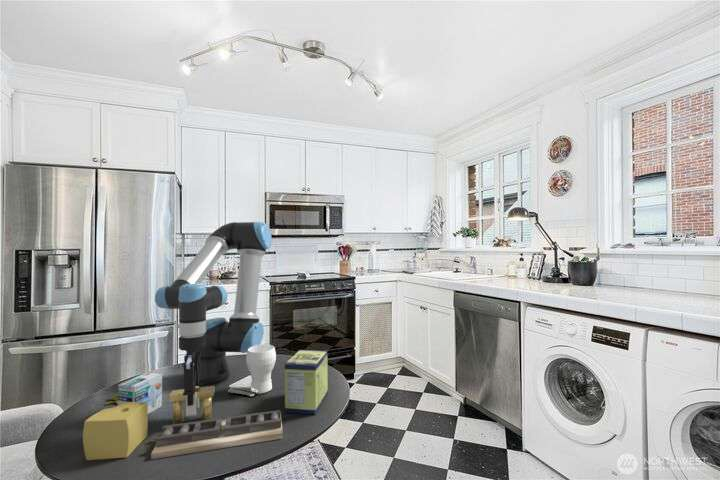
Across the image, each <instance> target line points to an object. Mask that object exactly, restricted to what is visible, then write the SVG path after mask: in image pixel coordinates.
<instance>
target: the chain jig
mask: <svg viewBox="0 0 720 480" xmlns="http://www.w3.org/2000/svg"><path fill="white" fill-rule="evenodd" d="M282 421H283V420H282V413H281V409H277V410H269V411H262V412H255V413H249V414H240V415H235V416H226V419H223V417H219V418H211V419H209V420H197V421H191V422H189V421H188V422H184V423H183V422H182V423H180V424H168V425H162V428H161V429H162V430H161V435H159V436H157V437H156V439H155V446H154V448H153V450H152V451H151V453H150V454H151V455H150V459H151V460H157V459H164V458H169V457H177V456H182V455H187V454H195V453H200V452H207V451H212V450H218V449H219V450H220V449H226V448H231V447H238V446H243V445H248V444H249V445H250V444H257V443H262V442H263V443H264V442H269V441H273V440H274V441H275V440H280V439H284V438H283V423H282Z"/></svg>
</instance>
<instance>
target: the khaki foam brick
mask: <svg viewBox="0 0 720 480" xmlns="http://www.w3.org/2000/svg"><path fill="white" fill-rule="evenodd" d="M215 389H216V388H215V385H212V386H211V385H209V386H201V387H200V386H199V388H195V391H196V399H199V400H200V399H201V421H203V420H210V419H213V418H212V416H213V415H212V414H213V412H212V411H213V405H212V404H213V403H212V402H213V401H212V400H213V397H214V395H215V393H216V392H215ZM183 393H184V388H183V389H182V388H181V389H174V390H172V391H171V392H170V393H169V395H168V403H171V402H172V425H174V424H181V423H183V422H184V401H186V395H183Z"/></svg>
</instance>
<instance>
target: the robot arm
mask: <svg viewBox="0 0 720 480" xmlns="http://www.w3.org/2000/svg"><path fill="white" fill-rule="evenodd" d="M272 240H273V239H272V233H271V229H270V228H269V226H268V225H267V223H266V222H261V221H259V222H258V221H246V222H241V221H239V222H238V221H237V222H234V221H233V222H227V223H226V224H224V225H221V226H219V227H218V228H216V229H215V230H214V231H213V232H211V234H209V235H208V237H206V239H205V242H204V243H205V244H204V246H202V247H201V249H200V250H199V251H198V253H197V254H196V255H195V256H194V257H193V259H192V260H191V261H190V262H189V263H188V264H187V266H186V267H185V268H184V269H183V271H182V272H181V273H180V274H179V276H177V278H176V279H175V280H174V281H173V282H172V283H171V284H170V285H166V286H161V287H159V288H158V289H157V290H156V292H155V295H154V302H155V305H156V306H157V307H158V308H161V309H164V310H168V309H169V310H174V309H175V310H178V324H177V325H176V328H177V329H178V335H179V337H178V349H179V350H180V351H185V352H186V353H185V355H184V356H183V359H184V360H183V361H184V362H183V364H182V365H183V389H184V393H183V395H186V400H185V417H189V416H190V417H191V416H196V415H197V409H199V408H200V398H199V399H196V391H195V388H199V387H200V386H202V385H210V384H215V383H219V382H221V381H224V380H226V379H228V378H229V377H230V376H231V367H230V363H229V361H228V358H227V354H226V353H242V354H245V353H246V354H247V351H248V349H249V348H250V347H253V346H257V345H262V341H263V339H264V334H265V333H264V331H265V328H264V324H263V323H262V322H260V317H259V316H258V315H257V308H258V307H257V305H258V296H259V286H260V275H261V265H262V258H263V257H264V255H266V251H267V250H269V249H270V248H271V247H272V243H273V242H272ZM231 250H236V252H237V253H238V254H239V256H240V257H239V264H238V265H239V266H238V267H239V268H238V275H237V282H236V283H237V284H236V292H235V293H236V294H235V301H234V311H233V314H231V316H229V318H228V319H229V320H228V321H227V319H226V317H215V318H209V319H207V312H208V311H212V310H215V309H218V308H219V307H222V306H224V305H225V304H226V302H227V300H228V291H227V290H226V288H225V287H224V286H221V285H211V286H206V284H205V283H202V282H203V281H204V279H205V278H206V276H208V274H209V273H210V271H211V270H212V268H213V267H214V266H215V264H216V263H217V262H218V261H219V259H220V258H221V256H223V255H225V254H227V252H228V251H231Z"/></svg>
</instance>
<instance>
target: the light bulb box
mask: <svg viewBox="0 0 720 480" xmlns="http://www.w3.org/2000/svg"><path fill="white" fill-rule="evenodd" d="M117 389H118V390H117V394H118V405H120V404H122V403H127V402H147V407H148V415H149V414H150V413H152V412H154V411H157V410H158V409H160V408H161V407H163V405H162V404H163V373H153V372H144V373H142V374H140V375H138V376H137V375H136V377H133V378H131V379H128V380H126V381H123V382H121V383H119V384H118V385H117ZM118 405H117V406H118Z"/></svg>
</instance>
